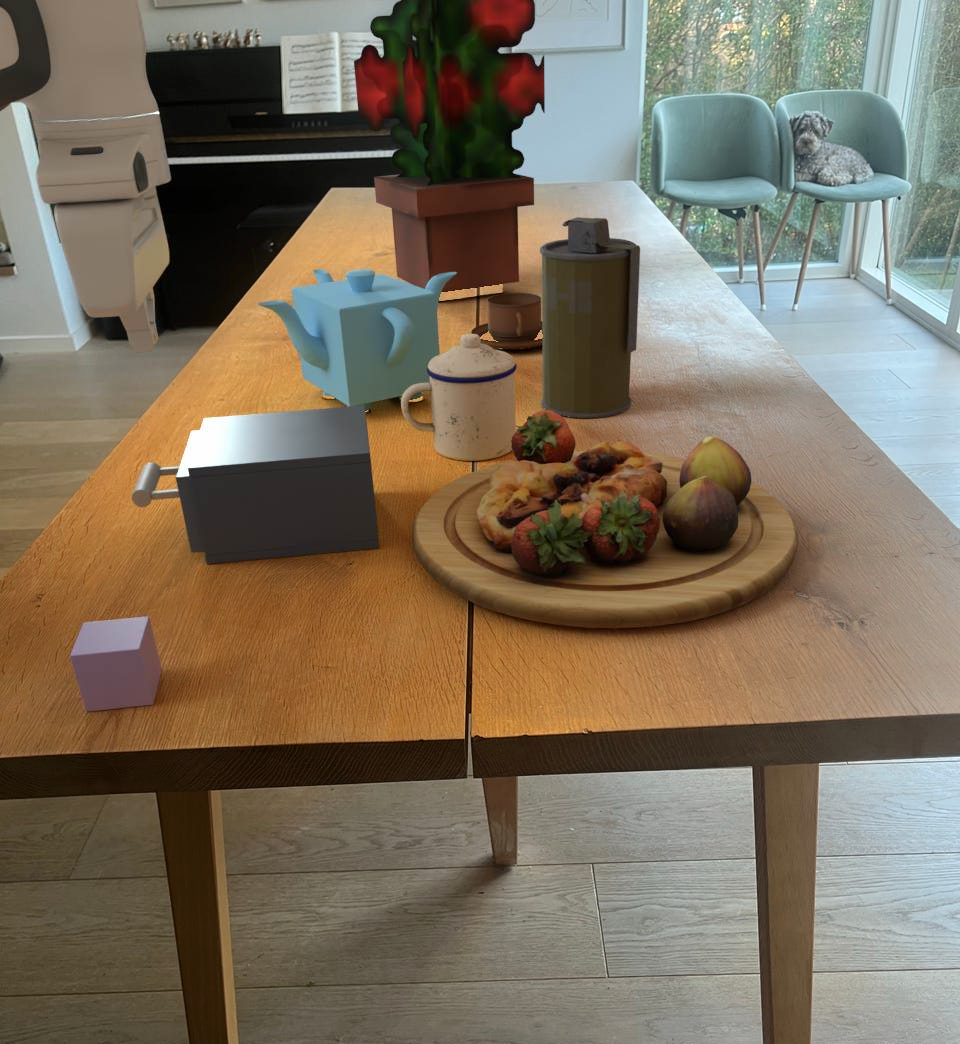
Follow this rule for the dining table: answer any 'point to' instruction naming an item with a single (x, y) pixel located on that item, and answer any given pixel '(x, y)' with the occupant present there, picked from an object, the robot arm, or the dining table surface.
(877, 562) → the dining table surface
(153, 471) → the drawer
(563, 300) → the canister
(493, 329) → the cup and saucer
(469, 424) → the teacup with lid
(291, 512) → the grey drawer box
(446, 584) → the wooden plate
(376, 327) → the teakettle
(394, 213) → the potted plant
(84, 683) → the purple block
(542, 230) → the dining table surface
